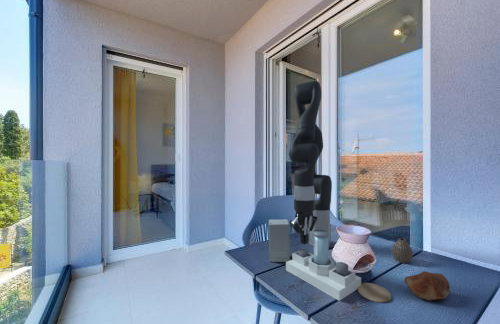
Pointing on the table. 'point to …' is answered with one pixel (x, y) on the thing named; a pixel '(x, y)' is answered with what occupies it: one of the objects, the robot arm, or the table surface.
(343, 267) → the plunger
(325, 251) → the cylinder
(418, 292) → the fossil
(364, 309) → the table surface
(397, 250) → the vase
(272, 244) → the skincare box
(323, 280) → the housing
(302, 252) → the plunger
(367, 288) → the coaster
